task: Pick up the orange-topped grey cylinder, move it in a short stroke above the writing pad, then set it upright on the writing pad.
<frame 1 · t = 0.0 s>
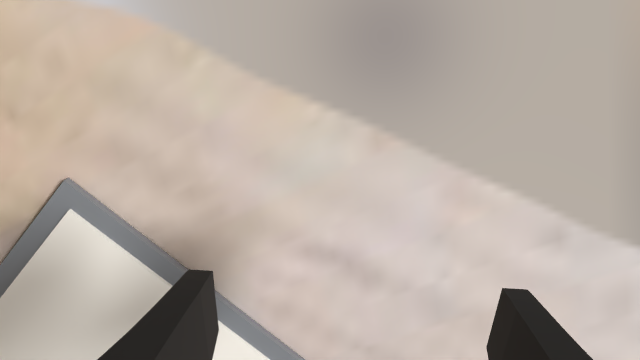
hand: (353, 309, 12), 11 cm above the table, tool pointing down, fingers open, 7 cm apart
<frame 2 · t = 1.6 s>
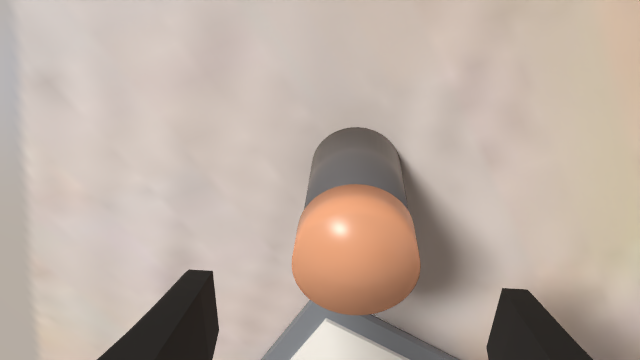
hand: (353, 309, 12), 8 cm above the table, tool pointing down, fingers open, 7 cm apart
orange-topped grey cylinder: (355, 168, 19), on the table
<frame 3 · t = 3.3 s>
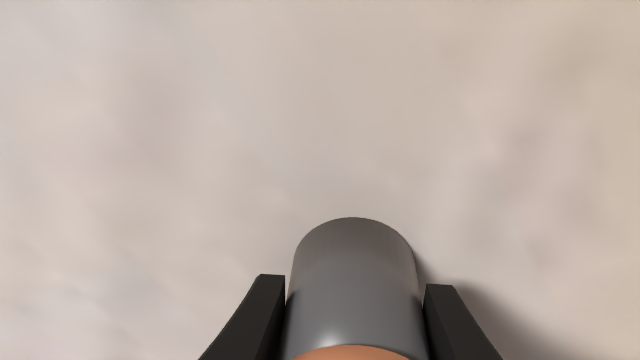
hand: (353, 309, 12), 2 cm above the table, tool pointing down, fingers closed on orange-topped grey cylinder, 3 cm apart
orange-topped grey cylinder: (353, 267, 14), on the table, touching gripper
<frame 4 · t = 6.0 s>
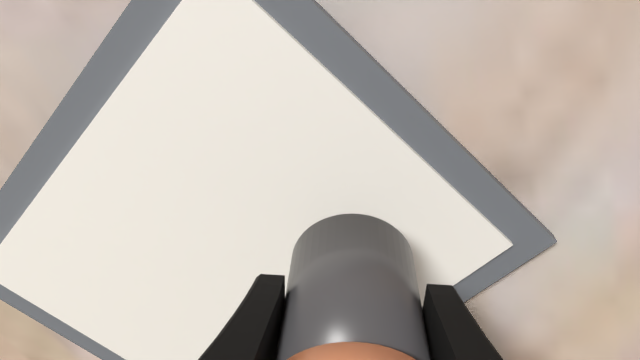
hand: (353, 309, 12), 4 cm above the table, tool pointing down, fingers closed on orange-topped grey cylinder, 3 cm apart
orange-topped grey cylinder: (352, 264, 14), point 3 cm above the table, touching gripper
writing pad: (233, 248, 17), on the table
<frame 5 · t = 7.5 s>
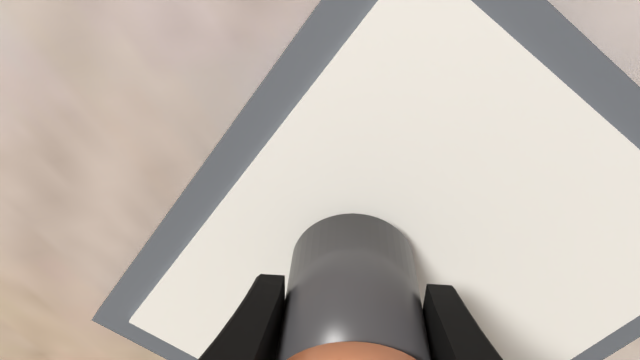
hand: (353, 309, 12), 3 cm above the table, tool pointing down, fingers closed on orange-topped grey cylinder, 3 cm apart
orange-topped grey cylinder: (352, 263, 14), point 1 cm above the table, touching gripper
writing pad: (405, 274, 15), on the table
when the fingers open (3 cm above the table, at t = 8.7 s): orange-topped grey cylinder stays where it is, resting on writing pad.
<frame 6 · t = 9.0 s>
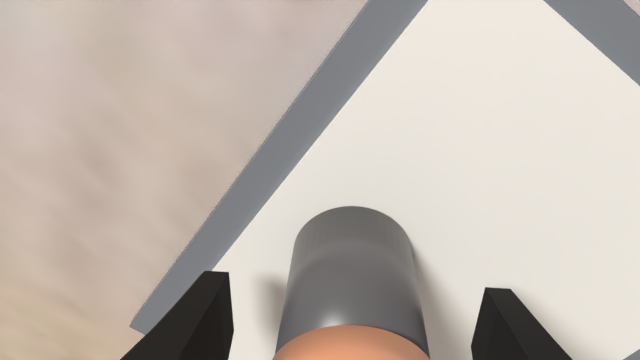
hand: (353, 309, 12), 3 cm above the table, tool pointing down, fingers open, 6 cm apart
orange-topped grey cylinder: (352, 256, 14), point 1 cm above the table, touching writing pad
writing pad: (452, 275, 15), on the table
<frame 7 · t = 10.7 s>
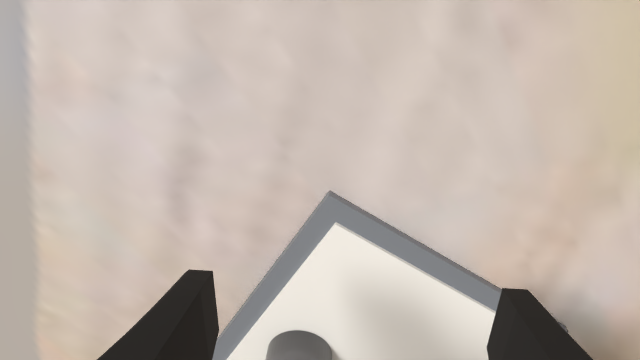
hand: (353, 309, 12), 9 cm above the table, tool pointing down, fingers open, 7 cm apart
orange-topped grey cylinder: (299, 353, 26), point 1 cm above the table, touching writing pad
writing pad: (358, 358, 27), on the table
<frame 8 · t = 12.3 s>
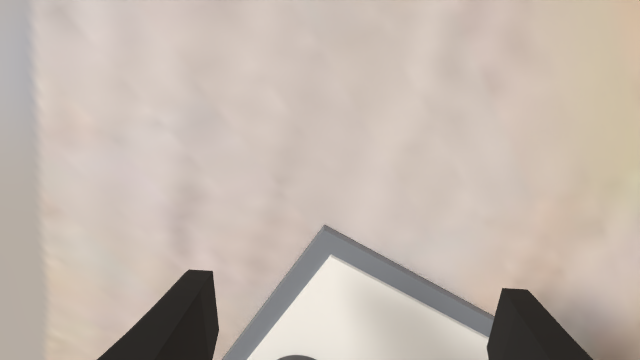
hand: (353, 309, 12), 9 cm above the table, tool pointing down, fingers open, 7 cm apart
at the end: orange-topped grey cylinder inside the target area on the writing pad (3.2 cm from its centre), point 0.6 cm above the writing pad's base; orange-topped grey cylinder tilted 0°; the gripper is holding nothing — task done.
